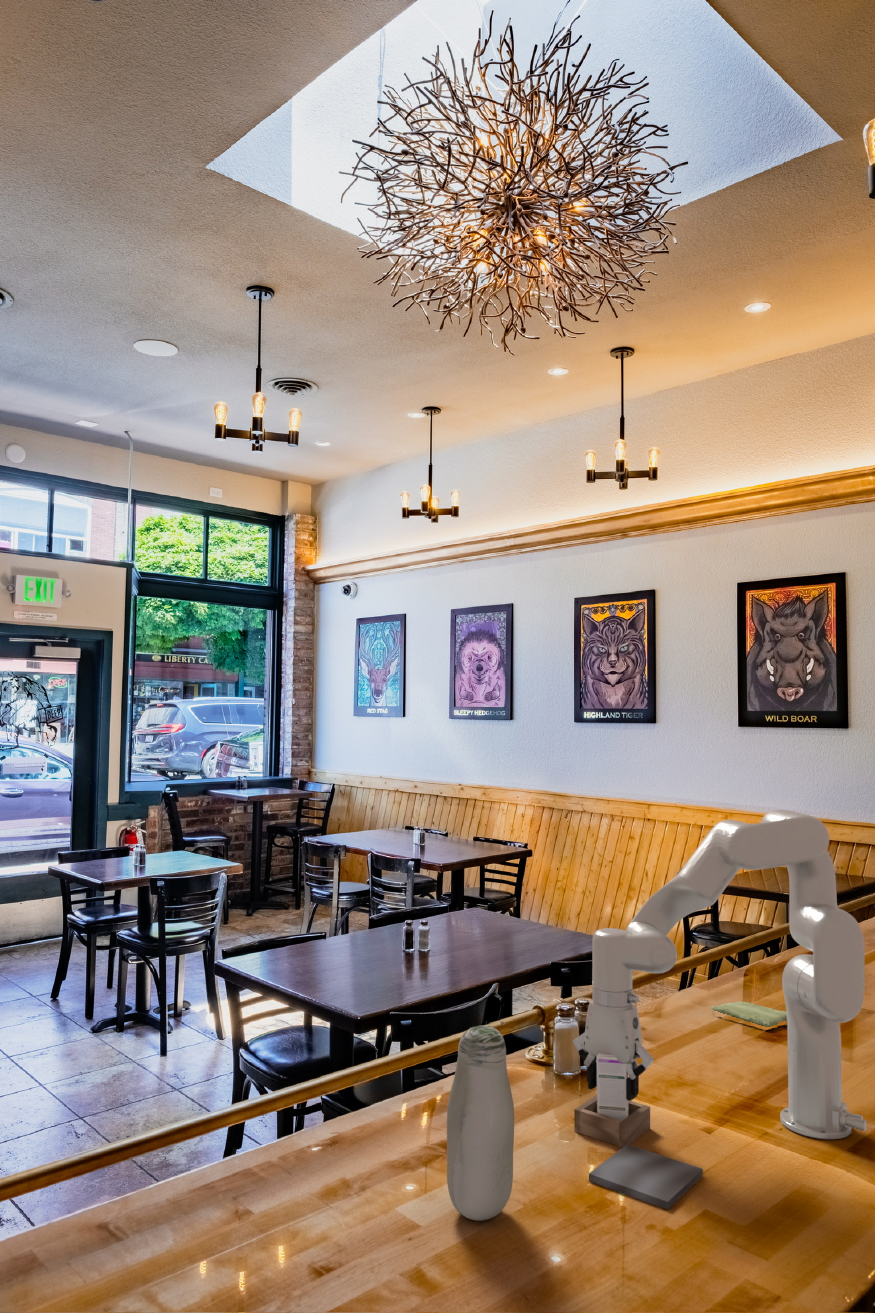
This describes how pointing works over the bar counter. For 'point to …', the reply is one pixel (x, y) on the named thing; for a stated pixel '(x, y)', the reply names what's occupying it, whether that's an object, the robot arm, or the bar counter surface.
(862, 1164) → the bar counter surface
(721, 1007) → the washcloth
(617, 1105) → the syrup box
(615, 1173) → the serving board
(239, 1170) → the bar counter surface
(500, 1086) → the white bottle
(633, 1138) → the walnut holder
